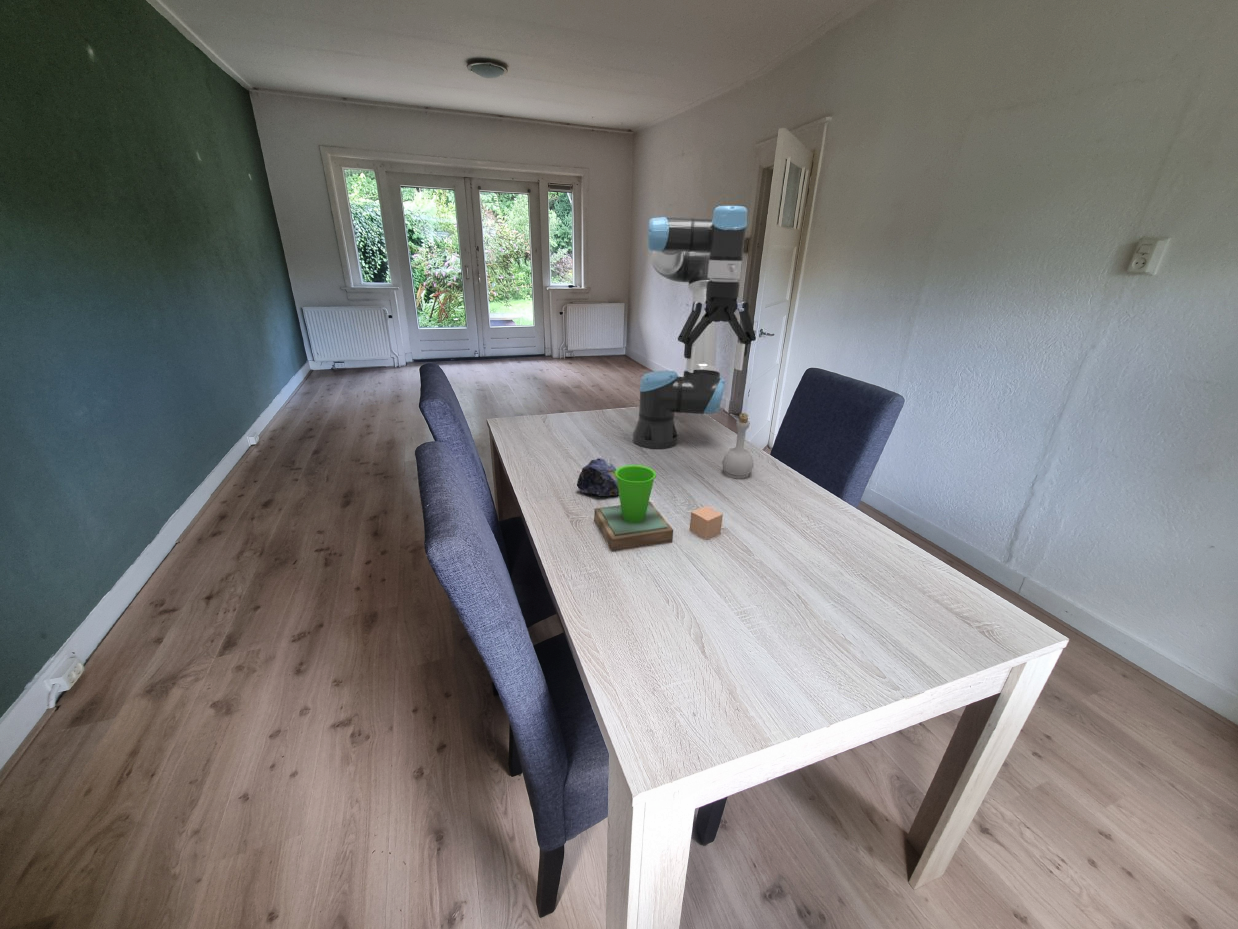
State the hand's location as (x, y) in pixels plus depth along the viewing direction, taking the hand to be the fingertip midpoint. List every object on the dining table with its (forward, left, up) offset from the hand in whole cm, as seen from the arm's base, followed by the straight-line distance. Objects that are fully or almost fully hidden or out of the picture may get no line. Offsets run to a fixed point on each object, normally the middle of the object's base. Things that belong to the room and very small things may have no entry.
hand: (714, 370), depth 124 cm
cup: (+18, -27, -28) cm, 43 cm away
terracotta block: (+23, -11, -32) cm, 41 cm away
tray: (+18, -27, -32) cm, 45 cm away
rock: (-3, -28, -32) cm, 43 cm away
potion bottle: (-4, +13, -32) cm, 35 cm away
